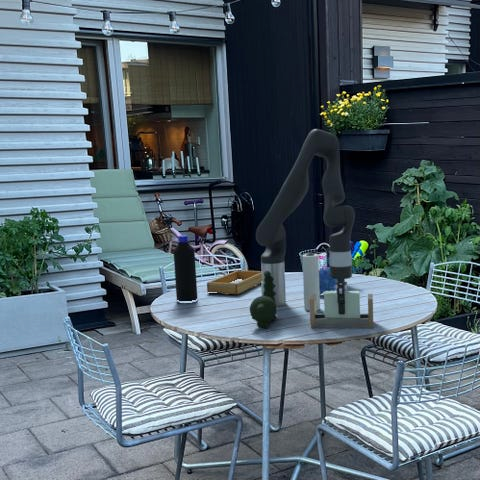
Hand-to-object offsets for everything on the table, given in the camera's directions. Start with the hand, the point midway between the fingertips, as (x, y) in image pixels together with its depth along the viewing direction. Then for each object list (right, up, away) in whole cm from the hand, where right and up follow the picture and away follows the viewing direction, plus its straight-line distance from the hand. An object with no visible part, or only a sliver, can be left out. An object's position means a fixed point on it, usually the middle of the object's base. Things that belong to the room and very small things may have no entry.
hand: (342, 312), depth 215 cm
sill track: (0, -4, +1) cm, 4 cm away
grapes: (+1, +2, +47) cm, 47 cm away
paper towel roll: (-7, -2, +24) cm, 25 cm away
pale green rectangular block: (0, -2, 0) cm, 2 cm away
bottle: (-58, -1, +48) cm, 75 cm away
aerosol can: (+8, +5, +65) cm, 65 cm away
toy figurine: (-26, -5, +8) cm, 28 cm away
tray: (-36, +3, +70) cm, 79 cm away
